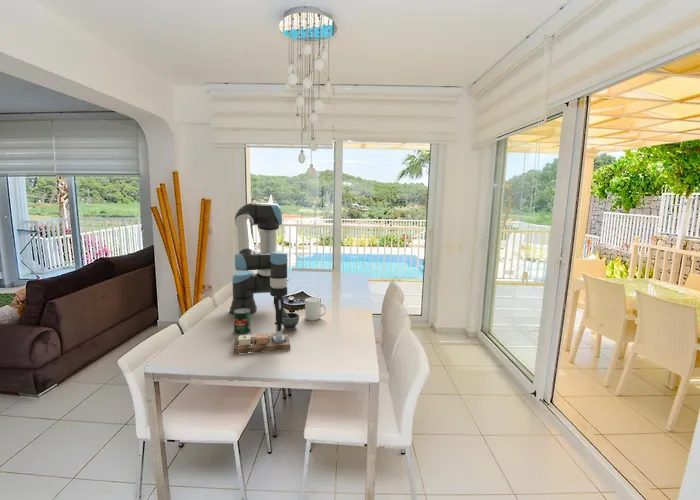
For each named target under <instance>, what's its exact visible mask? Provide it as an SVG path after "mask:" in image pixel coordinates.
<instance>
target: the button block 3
mask: <svg viewBox="0 0 700 500" xmlns="http://www.w3.org/2000/svg"><path fill="white" fill-rule="evenodd" d="M279 342H285V337H284V335H283V334H282V337H279V338H276V336H273V343H279Z"/></svg>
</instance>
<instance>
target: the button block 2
mask: <svg viewBox="0 0 700 500" xmlns="http://www.w3.org/2000/svg"><path fill="white" fill-rule="evenodd" d="M268 336H269V335H268V332H267V333H258V334H257V333H256V334H255V337H256V344H267V343H268Z"/></svg>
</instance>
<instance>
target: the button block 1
mask: <svg viewBox="0 0 700 500" xmlns="http://www.w3.org/2000/svg"><path fill="white" fill-rule="evenodd" d="M251 337H252V336H251V334H244V335H238V338H239V346H243V345H251Z"/></svg>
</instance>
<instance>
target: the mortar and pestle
mask: <svg viewBox="0 0 700 500" xmlns="http://www.w3.org/2000/svg"><path fill="white" fill-rule="evenodd" d="M282 320H283V323H282V327H283V330H284V331H288V332H291V331H292V332H293V331H294V330H296V329H297V325H298V324H299V322H300V314H298V313H296V312H287V311H286V309H285V308H284V307H283V318H282Z"/></svg>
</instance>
